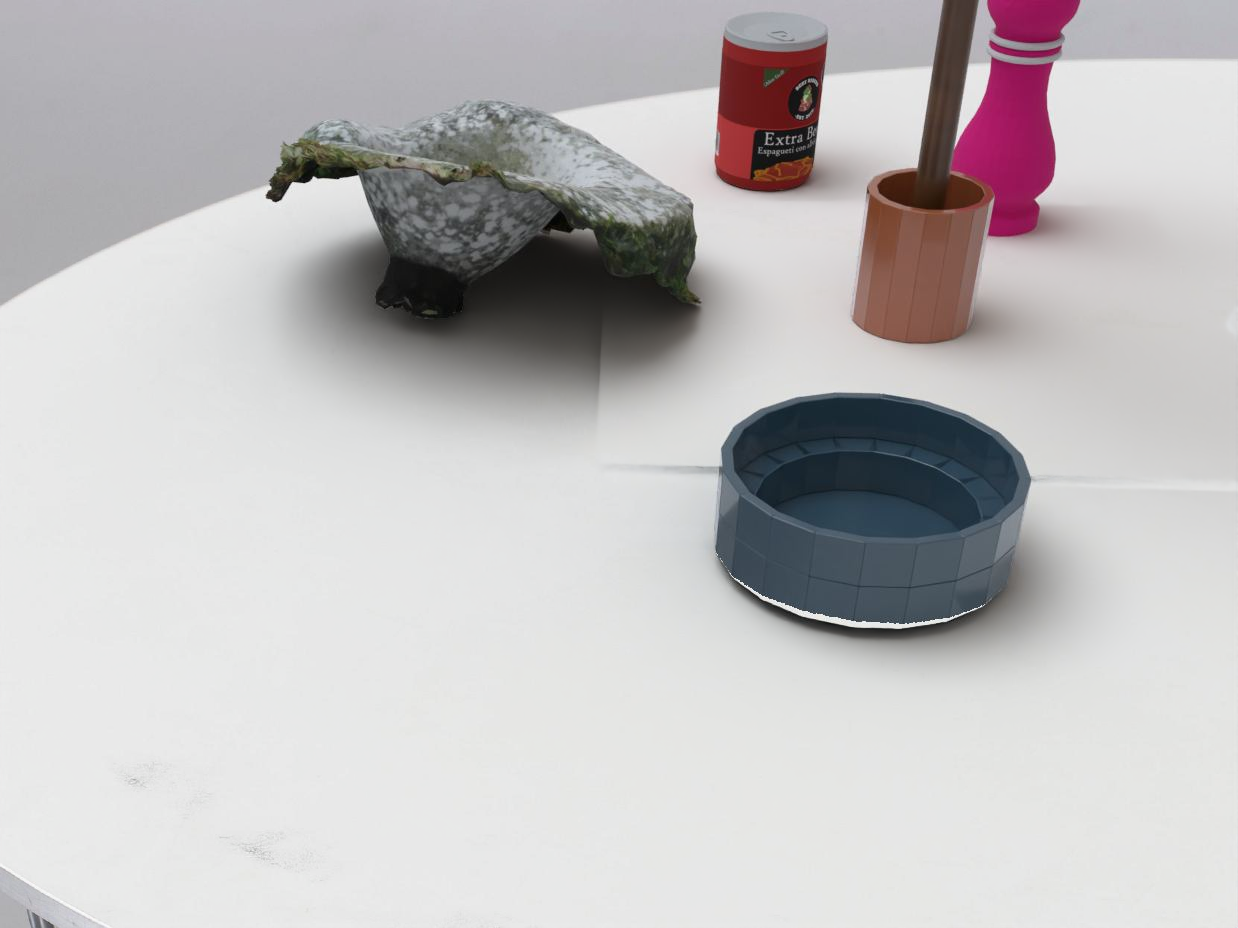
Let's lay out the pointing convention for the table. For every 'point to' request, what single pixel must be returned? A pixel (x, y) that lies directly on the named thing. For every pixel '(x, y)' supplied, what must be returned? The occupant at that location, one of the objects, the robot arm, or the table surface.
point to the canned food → (769, 99)
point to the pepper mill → (1016, 112)
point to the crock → (920, 259)
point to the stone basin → (493, 198)
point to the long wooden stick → (944, 103)
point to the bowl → (870, 507)
